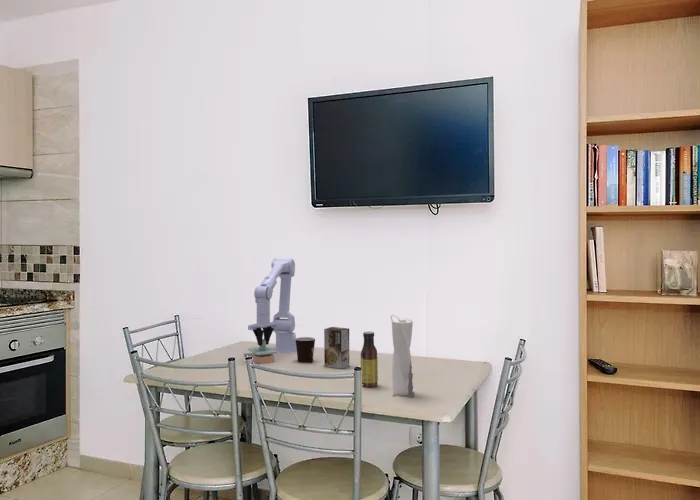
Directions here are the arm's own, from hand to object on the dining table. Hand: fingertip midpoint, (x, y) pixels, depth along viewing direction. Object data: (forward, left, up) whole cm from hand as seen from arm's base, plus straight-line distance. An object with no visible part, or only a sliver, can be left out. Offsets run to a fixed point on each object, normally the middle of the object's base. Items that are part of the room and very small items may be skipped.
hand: (263, 344), depth 254 cm
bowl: (0, 0, -8) cm, 8 cm away
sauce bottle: (-33, +49, -8) cm, 60 cm away
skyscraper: (-41, +62, -8) cm, 75 cm away
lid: (0, -1, -3) cm, 3 cm away
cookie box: (-29, +16, -8) cm, 34 cm away
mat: (+1, -12, -8) cm, 14 cm away
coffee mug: (-19, +3, -8) cm, 21 cm away
